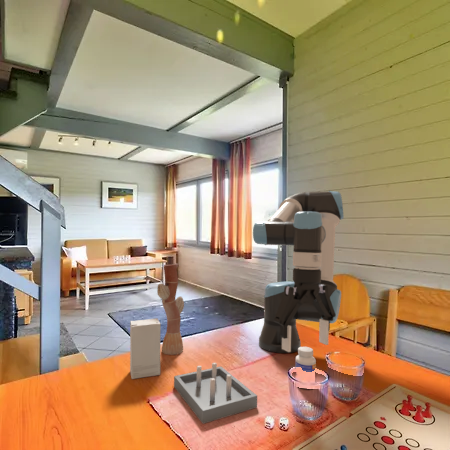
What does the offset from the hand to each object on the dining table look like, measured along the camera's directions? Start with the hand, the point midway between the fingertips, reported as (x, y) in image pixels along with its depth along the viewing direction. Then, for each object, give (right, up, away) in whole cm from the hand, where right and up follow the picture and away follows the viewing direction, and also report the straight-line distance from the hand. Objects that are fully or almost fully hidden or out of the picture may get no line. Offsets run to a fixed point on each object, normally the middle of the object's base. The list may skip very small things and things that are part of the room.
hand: (305, 346), depth 83 cm
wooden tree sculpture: (-41, -11, +22) cm, 48 cm away
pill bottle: (0, -11, 0) cm, 11 cm away
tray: (-25, -10, -7) cm, 27 cm away
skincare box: (-45, -10, +5) cm, 46 cm away
